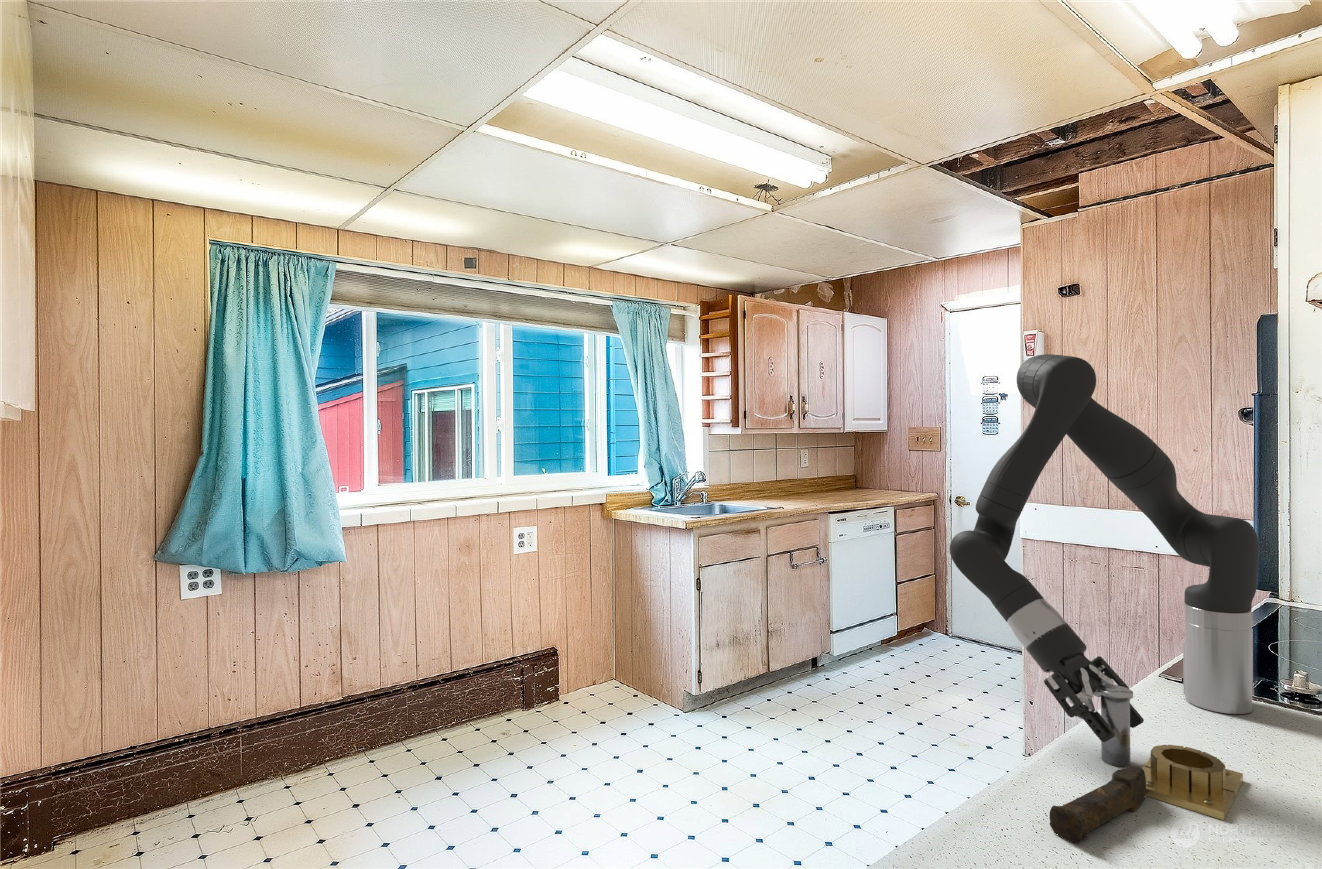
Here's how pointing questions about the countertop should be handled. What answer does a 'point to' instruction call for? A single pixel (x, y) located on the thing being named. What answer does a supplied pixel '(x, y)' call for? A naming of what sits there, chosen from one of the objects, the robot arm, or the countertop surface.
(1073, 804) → the hand tool
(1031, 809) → the countertop surface
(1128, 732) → the hinge pin
